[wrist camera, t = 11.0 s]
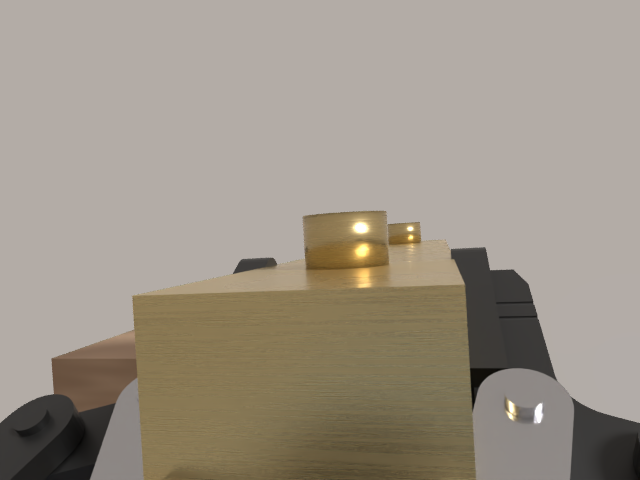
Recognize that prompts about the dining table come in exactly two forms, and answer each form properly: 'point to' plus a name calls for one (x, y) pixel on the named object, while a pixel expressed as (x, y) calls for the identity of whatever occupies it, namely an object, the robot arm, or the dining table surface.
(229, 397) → the gold studded block
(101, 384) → the stand
